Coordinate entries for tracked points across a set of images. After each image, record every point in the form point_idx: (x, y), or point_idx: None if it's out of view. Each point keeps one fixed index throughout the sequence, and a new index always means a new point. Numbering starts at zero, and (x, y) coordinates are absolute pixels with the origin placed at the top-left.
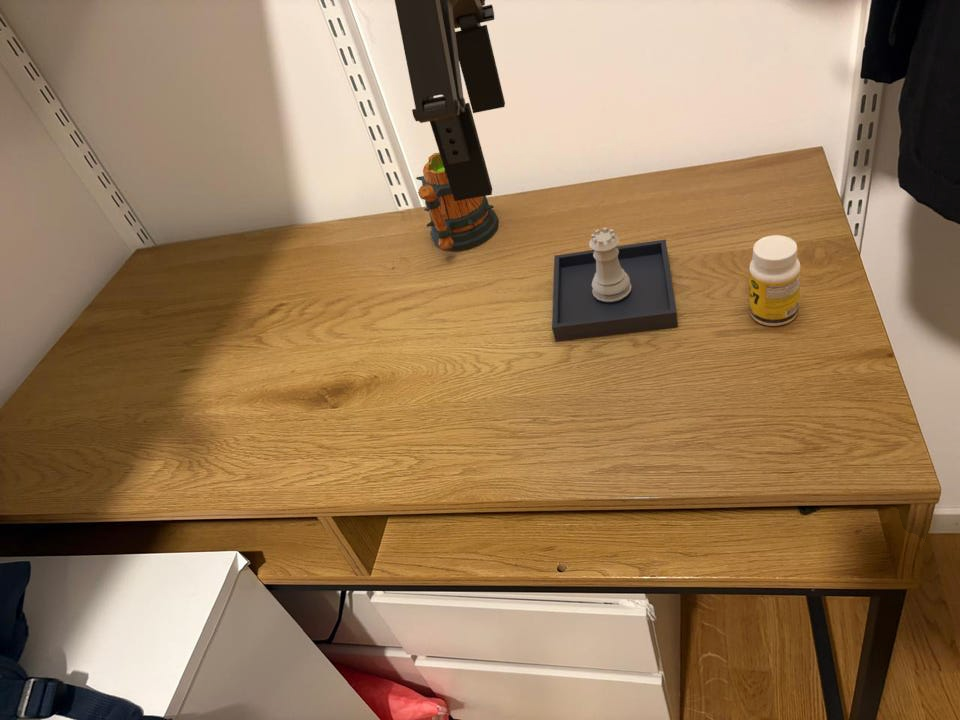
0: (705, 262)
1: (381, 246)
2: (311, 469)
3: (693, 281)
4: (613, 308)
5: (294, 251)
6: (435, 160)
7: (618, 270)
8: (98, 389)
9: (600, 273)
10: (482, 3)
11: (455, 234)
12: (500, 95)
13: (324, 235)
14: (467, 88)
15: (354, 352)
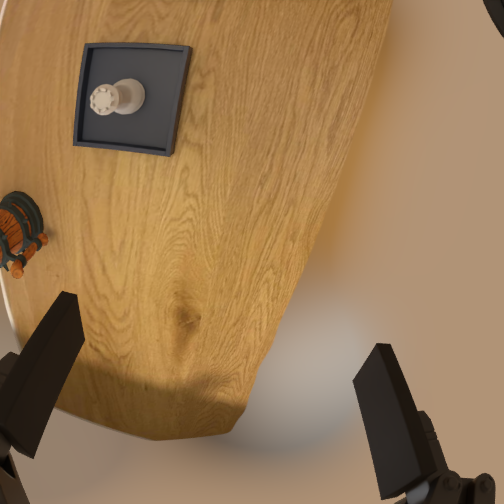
0: (117, 14)
1: (34, 282)
2: (253, 328)
3: (137, 26)
4: (151, 97)
5: None
6: None
7: (125, 88)
8: (154, 417)
9: (124, 105)
10: None
11: (32, 231)
12: (67, 312)
13: (24, 317)
14: (67, 373)
15: (145, 305)
